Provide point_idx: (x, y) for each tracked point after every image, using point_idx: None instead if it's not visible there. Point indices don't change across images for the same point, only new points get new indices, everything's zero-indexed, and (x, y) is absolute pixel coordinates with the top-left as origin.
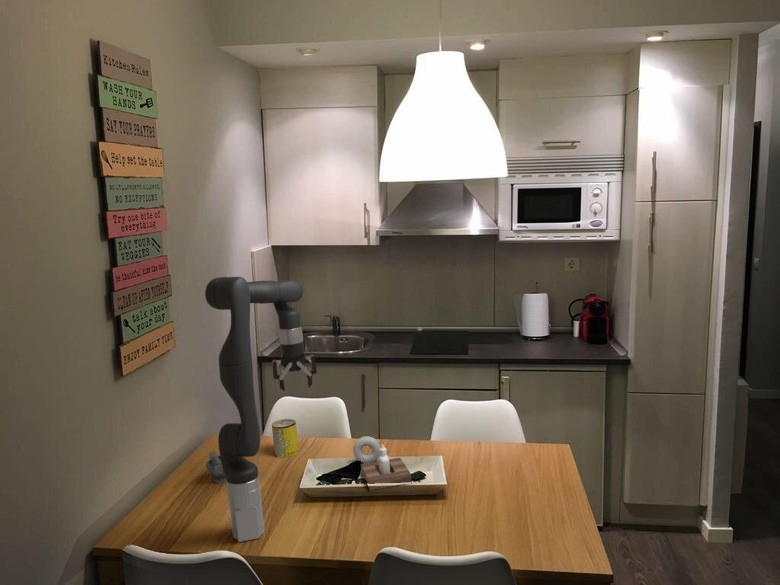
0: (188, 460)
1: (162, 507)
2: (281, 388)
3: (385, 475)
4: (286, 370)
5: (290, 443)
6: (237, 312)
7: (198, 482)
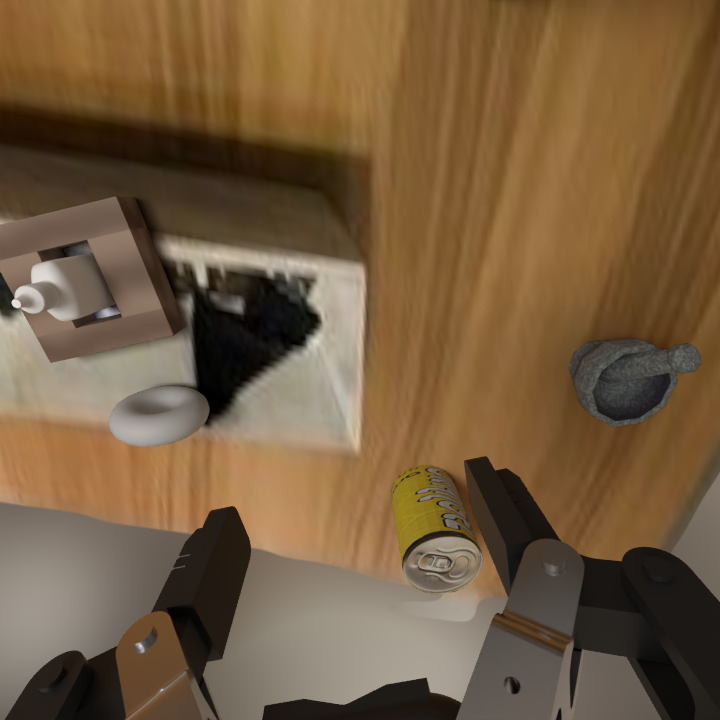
0: (683, 491)
1: None
2: (503, 474)
3: (66, 230)
4: (505, 698)
5: (413, 496)
6: None
7: None
